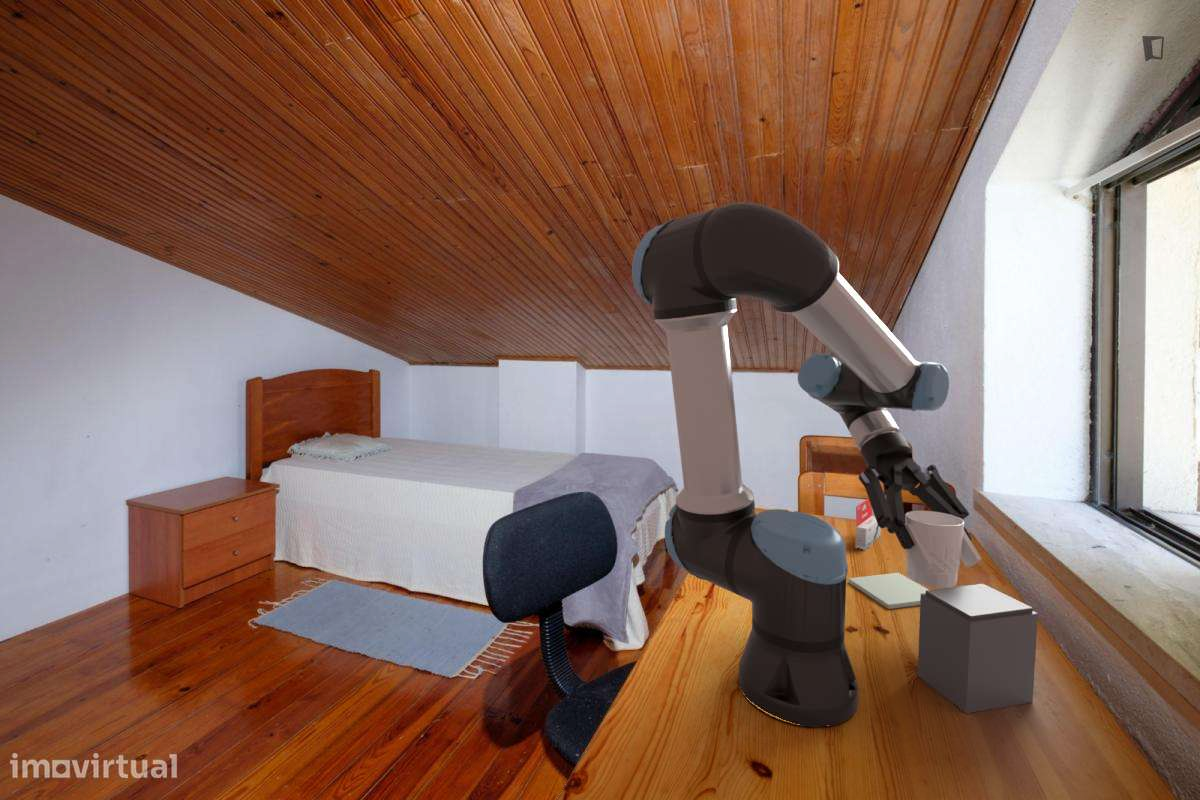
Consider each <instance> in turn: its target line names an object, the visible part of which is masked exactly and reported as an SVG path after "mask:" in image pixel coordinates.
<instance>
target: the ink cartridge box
mask: <svg viewBox="0 0 1200 800" xmlns="http://www.w3.org/2000/svg"><path fill="white" fill-rule="evenodd" d="M864 505H865V508H864ZM863 508H864V509H863ZM855 511H856V514H855V516H856V519H855V522H856V523H855V524H856V525H855V526H856V528H855V544H854V547H855V549H857V548H860V549H859V550H861V549H864V550H863V551H867V550H868V549H869V548H870V547H871V546H872V545H873V544H872V543H873V542H874V541H875V540H876V539H877V538H878V537H879V536H880V537H881V534H882V533H881V530H882V528H880V527H879V526H878V524H877V521H876V518H875V515H873V509H872V506H871V503H870V500H869V497H868V498H867V499H865V500H864V501H862V502H861V503H859V504H858V505H857V506H855ZM871 544H872V545H871ZM870 545H871V546H870ZM869 546H870V547H869ZM868 547H869V548H868ZM867 548H868V549H867ZM866 549H867V550H866Z"/></svg>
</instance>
